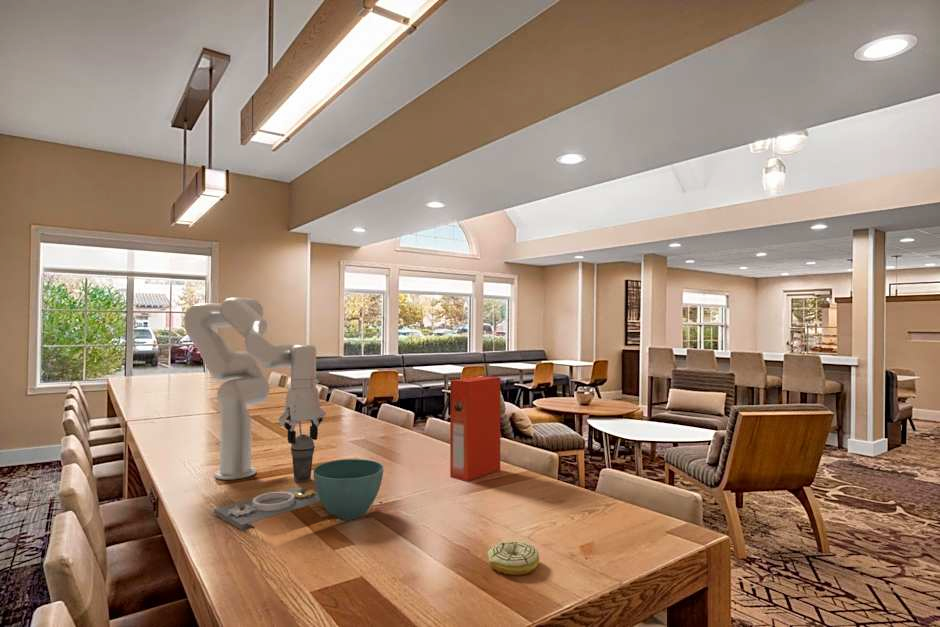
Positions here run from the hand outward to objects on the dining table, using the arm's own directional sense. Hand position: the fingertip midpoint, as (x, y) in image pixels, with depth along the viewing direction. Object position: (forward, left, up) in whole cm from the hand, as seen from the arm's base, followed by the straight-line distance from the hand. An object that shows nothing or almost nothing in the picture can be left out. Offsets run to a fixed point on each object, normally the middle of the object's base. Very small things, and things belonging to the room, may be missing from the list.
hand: (302, 440), depth 163 cm
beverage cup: (0, 0, -14) cm, 14 cm away
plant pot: (+31, -5, -14) cm, 34 cm away
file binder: (+32, +46, -14) cm, 58 cm away
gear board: (+13, -17, -14) cm, 25 cm away
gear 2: (+13, -8, -12) cm, 19 cm away
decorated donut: (+81, +1, -14) cm, 82 cm away
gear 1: (+13, -25, -12) cm, 31 cm away
